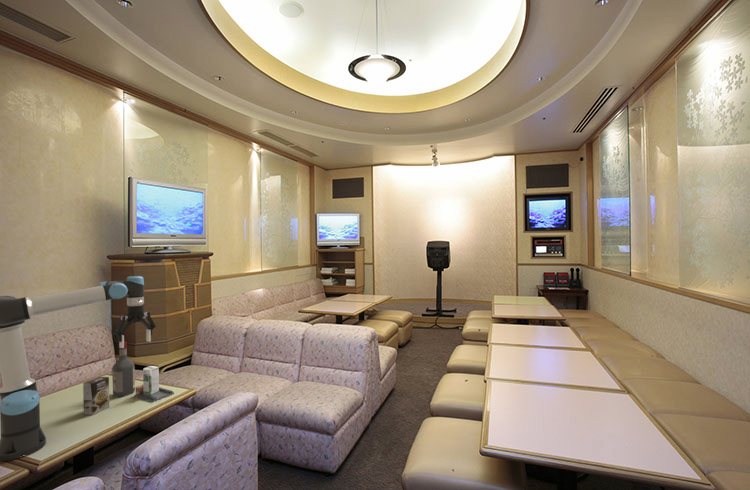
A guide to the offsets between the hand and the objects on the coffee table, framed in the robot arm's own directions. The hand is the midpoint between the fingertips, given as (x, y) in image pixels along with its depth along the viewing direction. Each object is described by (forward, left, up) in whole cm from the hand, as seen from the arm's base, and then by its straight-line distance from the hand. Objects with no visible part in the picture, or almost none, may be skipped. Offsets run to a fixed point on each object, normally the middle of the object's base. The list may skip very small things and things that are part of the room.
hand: (135, 344), depth 187 cm
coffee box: (-13, +13, -33) cm, 38 cm away
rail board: (+11, +4, -33) cm, 35 cm away
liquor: (+5, +23, -33) cm, 41 cm away
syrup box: (+12, +7, -32) cm, 35 cm away
